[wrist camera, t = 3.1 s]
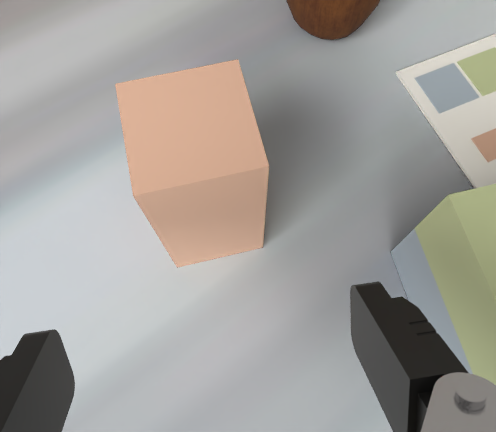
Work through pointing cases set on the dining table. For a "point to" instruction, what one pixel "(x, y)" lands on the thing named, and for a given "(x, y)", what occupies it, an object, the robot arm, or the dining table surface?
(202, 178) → the brick
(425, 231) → the pedestal
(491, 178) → the page
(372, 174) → the dining table surface
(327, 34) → the wooden figurine
